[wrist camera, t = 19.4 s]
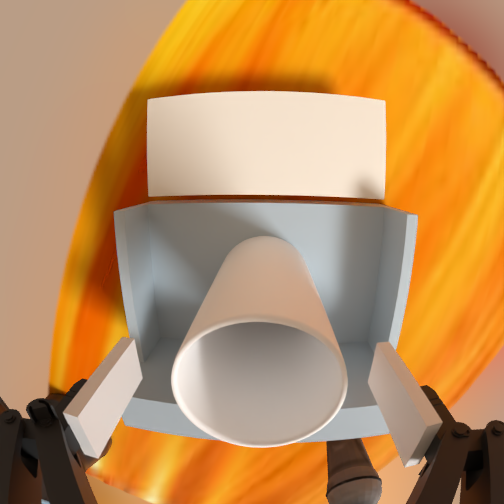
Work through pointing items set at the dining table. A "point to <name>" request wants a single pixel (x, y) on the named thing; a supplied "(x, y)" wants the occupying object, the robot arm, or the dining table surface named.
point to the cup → (260, 351)
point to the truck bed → (210, 261)
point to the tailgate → (266, 144)
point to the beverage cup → (351, 474)
